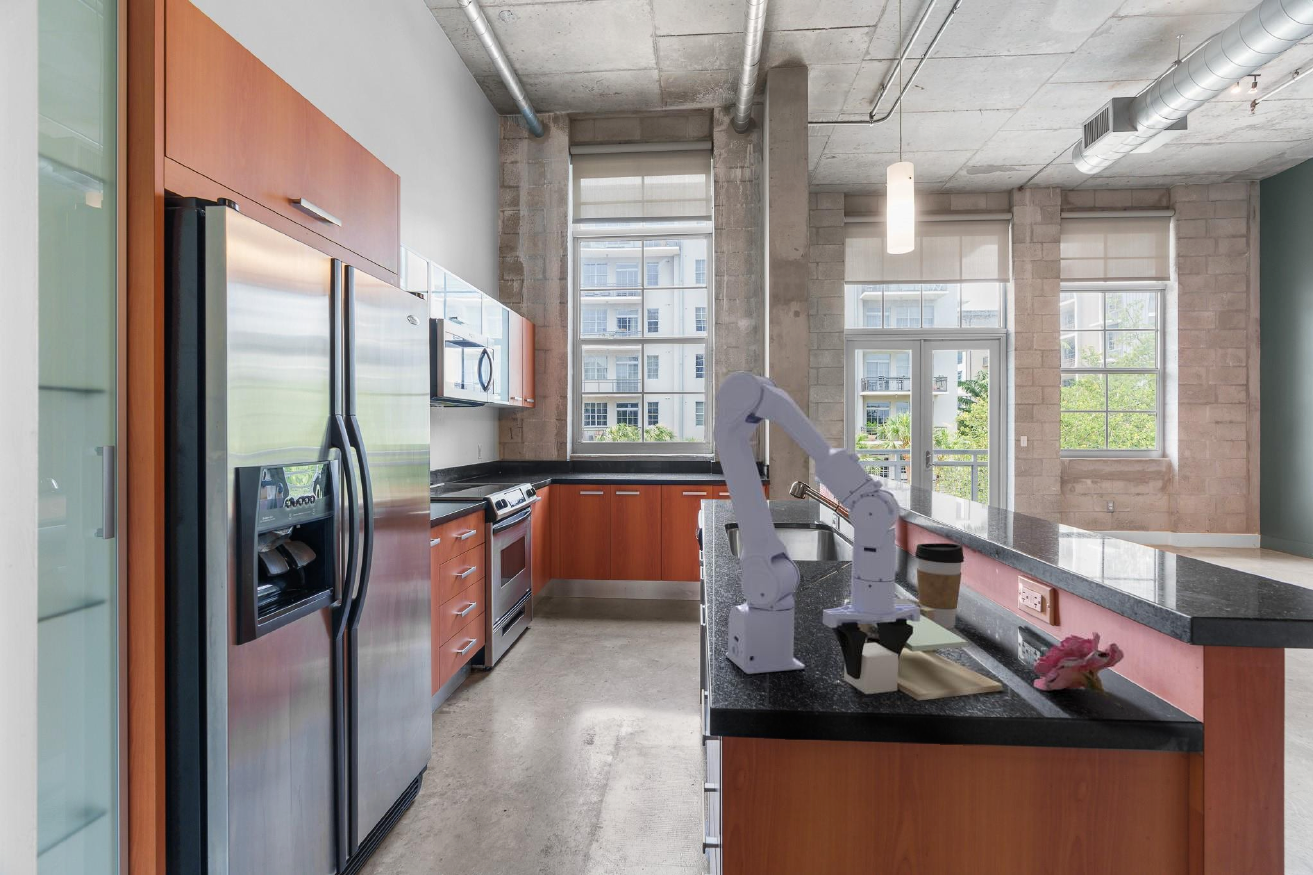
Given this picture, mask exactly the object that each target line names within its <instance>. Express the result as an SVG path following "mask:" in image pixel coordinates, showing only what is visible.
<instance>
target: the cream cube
mask: <svg viewBox="0 0 1313 875" xmlns="http://www.w3.org/2000/svg"><path fill="white" fill-rule="evenodd" d="M843 671H844V672H843V673H844V677H843V681H845V682H847V683H849V685H852V686H853V687H854V688H855V689H857V690H859V691H860V692H862V693H863V694H865V695H871V694H878V693H887V692H895V691H896V692H897V691H898V688H897V678H898V654H896V653H894V652H892V651H890V650H889V649H887V648H885V647H883V646H881V645H880V643H879V644H878V643H877V642H867V643H865V644H864V647H863V652H862V663H861V674H860V679H854V678H852V677H851V676H849V675H848V674H847V671H846V666H845V665H844V670H843Z"/></svg>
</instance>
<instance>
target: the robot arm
mask: <svg viewBox="0 0 1313 875" xmlns="http://www.w3.org/2000/svg"><path fill="white" fill-rule="evenodd" d="M715 396H716V400H717V408H716V409H717V411H716V414H715V418H714V419H715V420H714V425H713V432H712V435H713V440H714V444H715V448H716V451H717V454H718V459H719V463H720V466H721V470H722V473H723V476H724V480H725V483H726V487H727V491H728V495H729V497H730V501H731V504H732V510H733V511H734V516H735V520H736V523H737V525H738V526H737V527H738V530H739V533H740V538H741V542H742V545H743V546H742V549H741V554H740V557H739V562H740V567H741V576H740V577H741V578H740V588H741V592H742V594H743V596H744V598H745V601H746V602H744V603H742V604H740V605H734V606H733V607H731V608H730V611H729V615H728V625H727V626H728V628H727V629H728V631H727V632H728V633H727V652H725V656H726V657H727V659H729V660H730V661H731V662H732V663H734V664H735V665H736V666H737V667H738V668H740V669H741V670H742V671H743V672H744V673H746V674H747V675H753V674H760V673H761V674H762V673H773V672H781V671H782V672H783V671H793V670H803V669H805V666H806V665H805V664H804V663H802V662H801V661H799V660H798V659H796V658H795V657H794V639H795V638H794V637H795V636H794V635H795V633H794V632H795V606H796V605H795V604H796V603H795V599H794V597H793V593H794V592H796V590H797V588H798V586H799V584H800V580H801V575H800V574H801V573H800V570H799V567H798V565H797V564H796V563H795V562H794V561H793V559H792V558H791V557H790V555H789V553H788V550H787V547H786V544H785V543H784V542H783V541H782V540H781V539H780V538H779V536H778V535H777V532H776V528H775V524H774V521H773V518H772V514H771V511H770V507H769V504H768V501H767V497H766V493H765V490H764V487H763V483H762V479H761V476H760V472H759V469H758V466H757V463H756V459H755V456H754V452H753V449H752V445H751V441H750V438H751V436H752V435H753V434H754V432H755V430H756V429H757V427H758V426H759V424H761V422H763V421H764V420H767V421H770V422H774V423H777V424H778V425H779V426H780V427H781V428H782V429H783V430H784V431H785V432H786V433H787V434H788V435H789V437H791V438H792V439H793V440H794V441H795V443H797V445H799V447H800V448H801V449H802V450H804V452H805V453H806V454H807V455H808V456H809V457H810V458H811V459H812V460H813V461H814V475H815V477H817V480H819V481H820V483H822V485H823V486H825V488H826V489H827V490H828V492H829V493H830V494H831V495H832V496H833V497H834V498H835V500H837V502H838V503H839V504H840V505H841V506H842V508H844V509H847V510H848V513H847V514H848V519H849V522H850V524H851V526H852V527H853V542H852V554H851V555H852V557H851V559H852V561H851V563H852V564H851V587H850V588H851V592H850V594H851V595H850V598H851V605H847V606H845V605H844V606H839V607H835V608H828V609H823V610H822V624H823V625H824V626H826V627H828V628H831V629H832V632H833V633H834V635H835V638H836V639H837V641H838V644H839V648H840V650H841V653H842V657H843V661H844V667H845V666H846V671H847V674H848V675H849V676H851V677H852V678H854V679H860V674H861V663H862V652H863V647H864V644H865V640H866V638H867V633H865V632H863V631H861V630H860V627H858V624H867V623H876V624H877V628H878V634H879V645H881V646H883V647H885V648H887V649H889V650H890V651H892V652H894V653H896V654H898V660H899V657H900V654H901V652H902V650H903V648H905V647H904V646H905V644H906V642H907V641H908V639H909V638H910V636H911V635H912V634H913V626H911V625H909V624H907V621H908V620H911V621H913V622H917V621H920V608H919V607H916V606H914V605H911V604H907V605H900V604H894V599H895V597H896V596H895V592H896V590H895V588H896V566H897V565H896V564H897V563H896V561H897V560H896V558H897V547H896V538H897V535H896V527H895V526H894V525H896V523H897V522H898V520H899V518H900V514H901V508H900V505H899V502H898V501H897V499H896V498H895V496H894V494H893V493H892V492H891V491H888V490H886V489H883V488H882V487H883V483H882V482H881V481H880V480H879V479H877V480H875V479H873V477H872V476H871V475H870V474H869V473H868V471H866V469H864V467H863V465H861V464H860V463H859V461H860V460H861V457H859V455H858V454H857V453H856V452H851V453H850V452H849V451H848V450H847V449H846V448H840V447H839V448H837V447H836V448H835V447H833V445H831V444H830V443H829V442H828V440H827V439H826V438H825V436H824V435H822V433H821V432H820V430H819V429H818V428H817V427H816V425H814V423H813V422H812V421H811V420H810V418H809V417H808V416H807V415H806V414H805V413H804V412H803V410H802V409H801V408H800V406H799V405H798V404H797V403H796V401H795V400H794V399H792V397H791V396H790V395H789V393H787V392H786V391H785V390H783V389H782V388H781V387H779V386H778V385H777V383H776V381H774V380H773V379H771V378H770V377H766V376H759V375H757V374H756V375H755V374H753V373H751V372H749V371H744V370H739V371H736V372H733V373H731V374H730V375H728V376H727V377H726V379H725V380H724V381H723V383H722V384H721V386H720V388H719V389H718V391H717V392H716V395H715ZM881 488H882V489H881ZM867 639H868V638H867Z"/></svg>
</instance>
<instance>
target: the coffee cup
mask: <svg viewBox="0 0 1313 875" xmlns="http://www.w3.org/2000/svg"><path fill="white" fill-rule="evenodd" d="M963 549H964V548H963V545H961V544H956V543H951V542H949V543H947V542H946V543H945V542H944V543H943V542H942V543H941V542H940V543H936V542H935V543H919V544H917V545H916V550H915V551H914V557H915V558H916V559H917V560H916V561H917V567H916V579H917V593H918V601H919V604H920V606H921V608H925V607H928V608H930V609H933V610H934V622H935V623H936V624H938V625H940V626H941V627H943V628H945V629H947V630H951V629H954V628H955V627H956V626H955V624H956V618H957V609H958V603H959V596H960V595H959V594H960V587H961V580H962V563H964V561H965V556H964V550H963Z"/></svg>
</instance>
